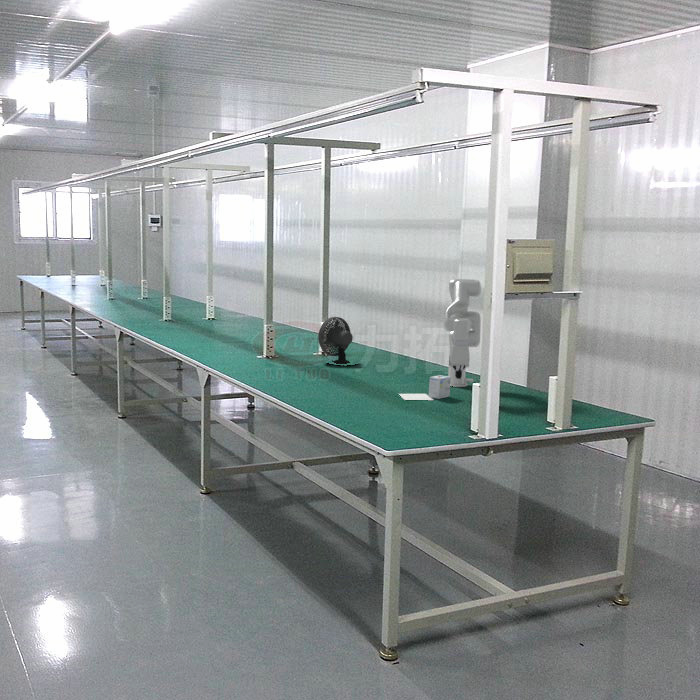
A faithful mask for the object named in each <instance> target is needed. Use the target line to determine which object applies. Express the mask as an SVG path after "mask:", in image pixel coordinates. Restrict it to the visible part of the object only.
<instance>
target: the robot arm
mask: <svg viewBox="0 0 700 700" xmlns="http://www.w3.org/2000/svg"><path fill="white" fill-rule="evenodd" d="M448 291H449V292H448V293H449V296H450V298H451V304H450V305H449V306H448V307H447V308H446V311H445V313H444V319H443V327H444V330H445V331H446V332H449V333H448V345H449V347H448V348H449V349H448V351H449V353H448V375H447V376H450V377H451V381H450V387H452V386H453V387H454V388H465V387H468V383H474V378H467V377H466V371H467V370H466V369H467V368H469V367H470V349H469V348H478V347H479V346H480V345H481V344H480V343H481V325H482V324H481V321H482V320H481V314H480V312H478V311H473V310H472V311H471V310H468V309H469V307H470V297H480V295H481V292H482V286H481V282H480V280H479V279H469V278H467V279H466V278H454V279H451V280H449V282H448Z"/></svg>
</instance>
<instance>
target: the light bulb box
mask: <svg viewBox="0 0 700 700" xmlns="http://www.w3.org/2000/svg"><path fill="white" fill-rule="evenodd" d="M450 381H451V377H450V376H448V375H443V374H439V375H434V376H433V375H432V376H430V377H429V386H428V396H429V397H431V398H432V399H437V400H440V399H445V398H448V397H450V391H451V386H450Z"/></svg>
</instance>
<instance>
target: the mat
mask: <svg viewBox="0 0 700 700" xmlns="http://www.w3.org/2000/svg"><path fill="white" fill-rule="evenodd" d="M398 394H399V395H400V396H401V397H400V396H399V395H398V396H399V397H400V398H402V399H403V400H404V401H405V400H428V401H434V398H431V397H429V394H427V393H398Z"/></svg>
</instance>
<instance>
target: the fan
mask: <svg viewBox="0 0 700 700" xmlns="http://www.w3.org/2000/svg"><path fill="white" fill-rule="evenodd" d="M353 337H354V336H353V334H352V333H351V328H350V326H349V323H348V322H347V321H346V320H345V319H343V318H342V317H339V316H332V317H329V318H327V319H326V320H324V321H323V323H322V324H321V325H320V328H319V331H318V338H317V339H318V343H319V348H320V349H321V350H322V352H323V353H324V354H326V355H327V356H332V357H337V356H338V359H334V360H335V361H333V360H331V361H332V362H334V363H336V364H347V363H350V362H349V361H350V360H348V359H347V356H346V355H347V353H346V350H347V349H348V347H349V345H350V344H352V342H353Z"/></svg>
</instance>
